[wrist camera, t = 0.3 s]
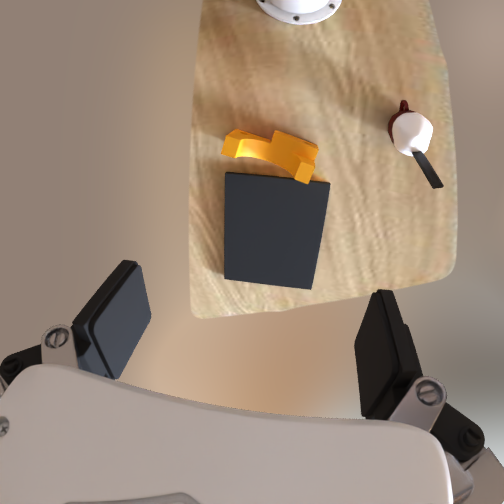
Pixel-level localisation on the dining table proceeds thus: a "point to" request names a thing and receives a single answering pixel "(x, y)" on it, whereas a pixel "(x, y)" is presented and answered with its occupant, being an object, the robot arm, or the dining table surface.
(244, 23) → the dining table surface
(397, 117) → the cocoa
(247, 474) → the robot arm
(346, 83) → the dining table surface
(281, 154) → the pipe clamp
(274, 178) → the mat
